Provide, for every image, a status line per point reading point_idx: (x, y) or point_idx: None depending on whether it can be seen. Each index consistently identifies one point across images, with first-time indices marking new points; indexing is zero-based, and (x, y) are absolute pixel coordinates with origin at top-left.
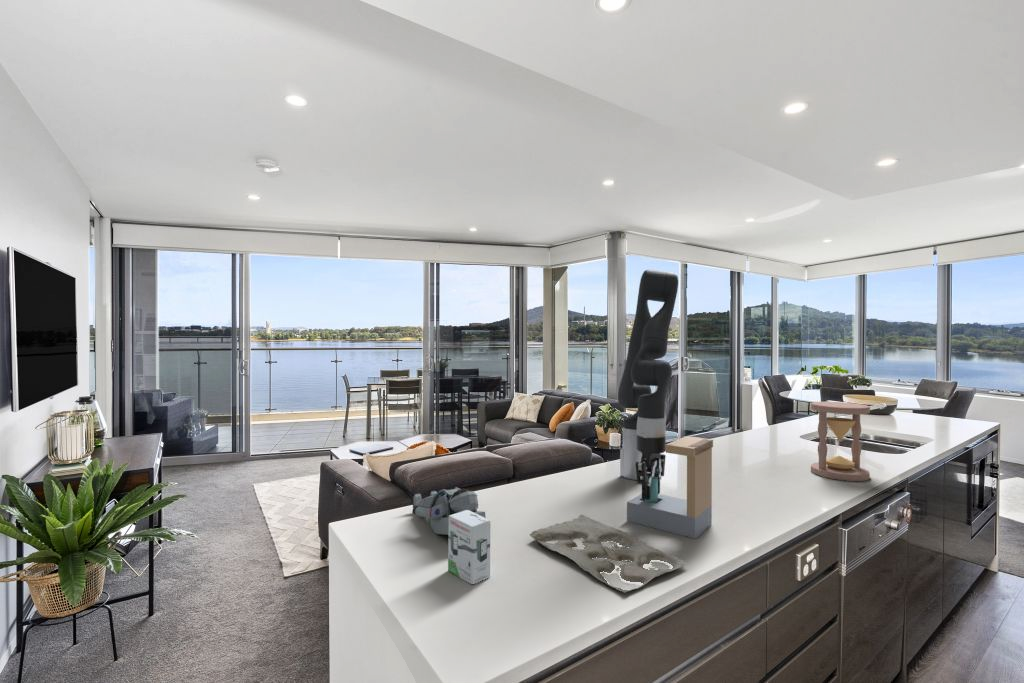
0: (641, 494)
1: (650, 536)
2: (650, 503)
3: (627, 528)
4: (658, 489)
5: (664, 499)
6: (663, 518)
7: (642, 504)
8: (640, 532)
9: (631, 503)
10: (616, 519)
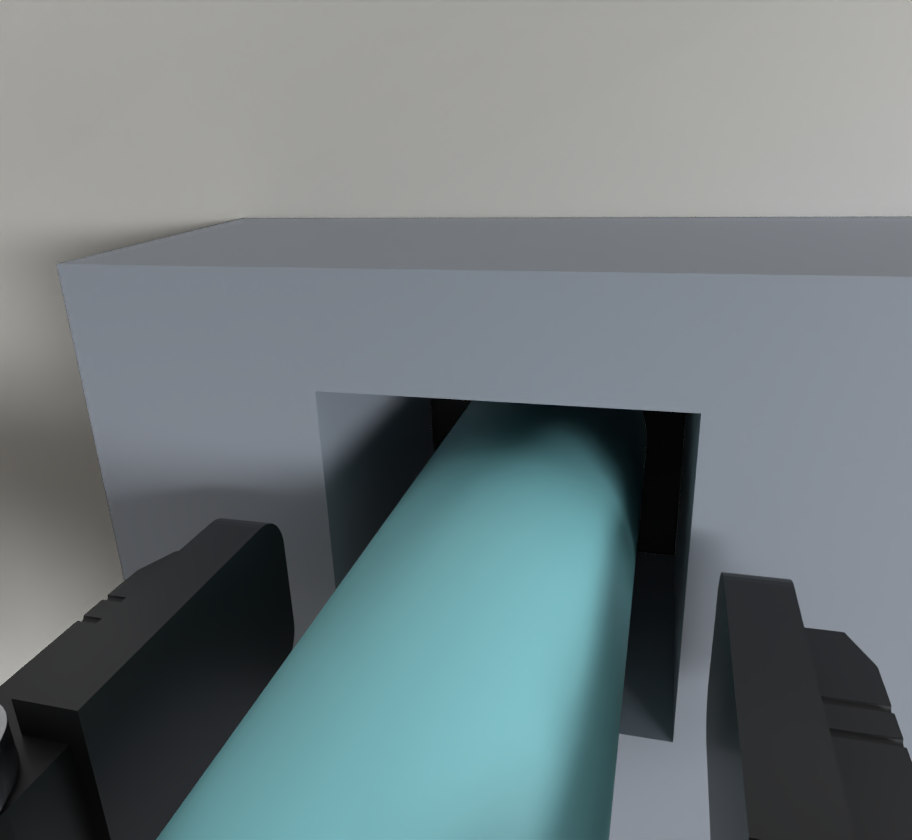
0: (700, 290)
1: (91, 591)
2: (296, 622)
3: (68, 337)
4: (709, 797)
5: (669, 764)
6: None
7: (158, 534)
8: (92, 487)
9: (84, 353)
10: (182, 72)
